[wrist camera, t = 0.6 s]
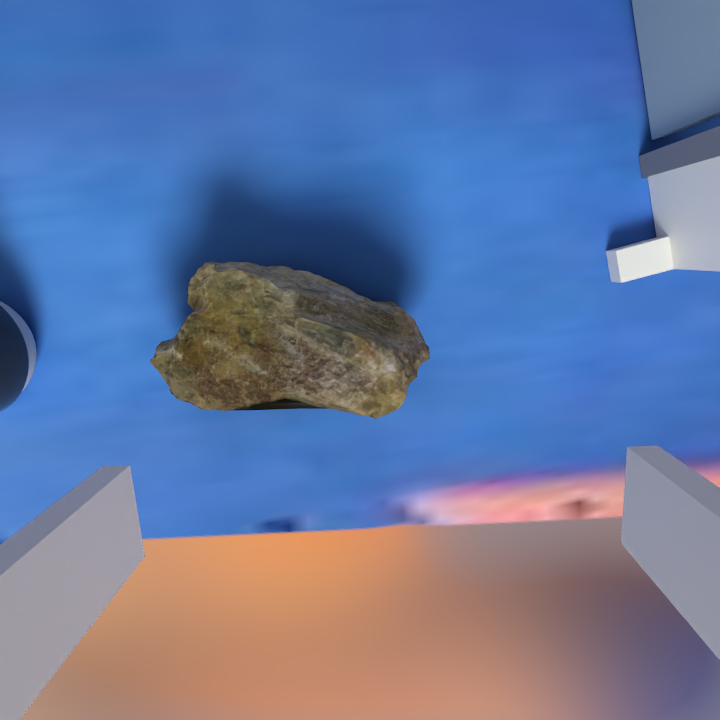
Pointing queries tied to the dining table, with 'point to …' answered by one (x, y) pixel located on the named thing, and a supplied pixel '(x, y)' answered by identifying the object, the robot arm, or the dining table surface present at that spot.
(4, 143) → the dining table surface
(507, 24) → the dining table surface
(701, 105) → the door
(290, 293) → the rock
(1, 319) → the dark grey rounded lump
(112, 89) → the dining table surface
